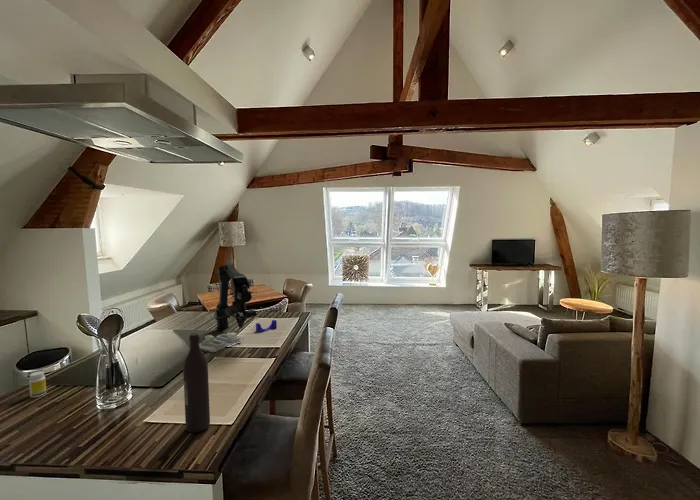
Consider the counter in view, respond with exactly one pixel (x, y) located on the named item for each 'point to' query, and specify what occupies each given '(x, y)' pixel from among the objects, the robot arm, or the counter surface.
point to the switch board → (219, 343)
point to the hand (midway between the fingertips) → (240, 327)
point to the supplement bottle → (37, 384)
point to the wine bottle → (196, 388)
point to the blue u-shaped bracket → (272, 326)
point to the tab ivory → (232, 335)
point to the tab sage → (209, 338)
